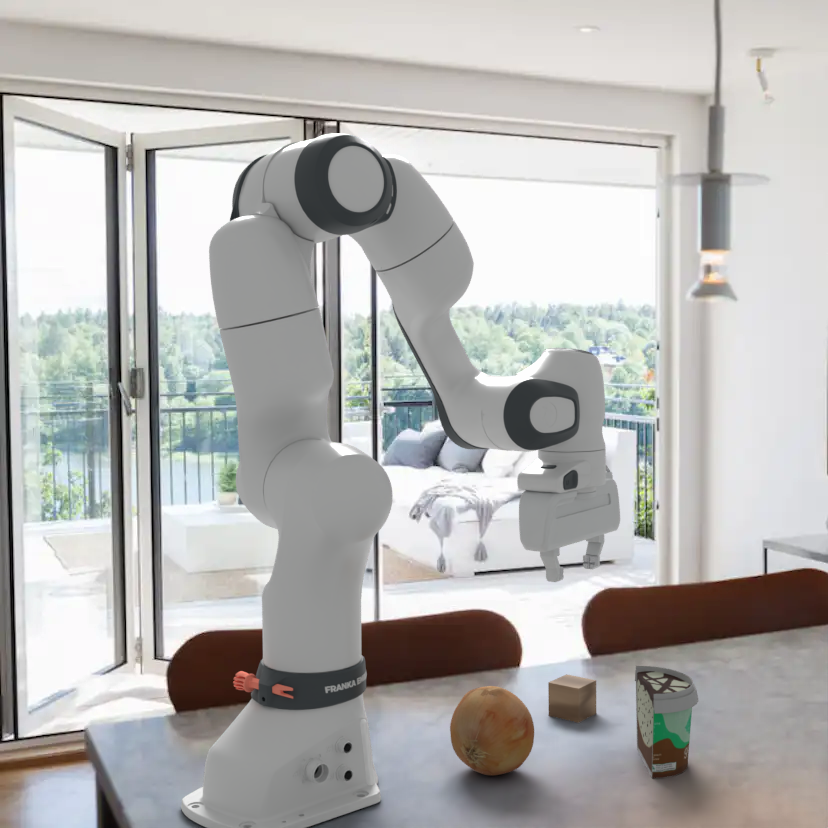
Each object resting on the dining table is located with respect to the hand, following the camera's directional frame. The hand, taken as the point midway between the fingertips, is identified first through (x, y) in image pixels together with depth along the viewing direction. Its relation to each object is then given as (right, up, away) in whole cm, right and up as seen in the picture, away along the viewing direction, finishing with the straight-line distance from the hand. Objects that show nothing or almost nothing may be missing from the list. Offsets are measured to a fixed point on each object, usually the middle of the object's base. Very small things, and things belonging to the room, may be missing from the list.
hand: (573, 574), depth 146 cm
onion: (-12, -20, -19) cm, 30 cm away
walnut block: (0, -19, +1) cm, 19 cm away
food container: (+9, -20, -17) cm, 27 cm away
